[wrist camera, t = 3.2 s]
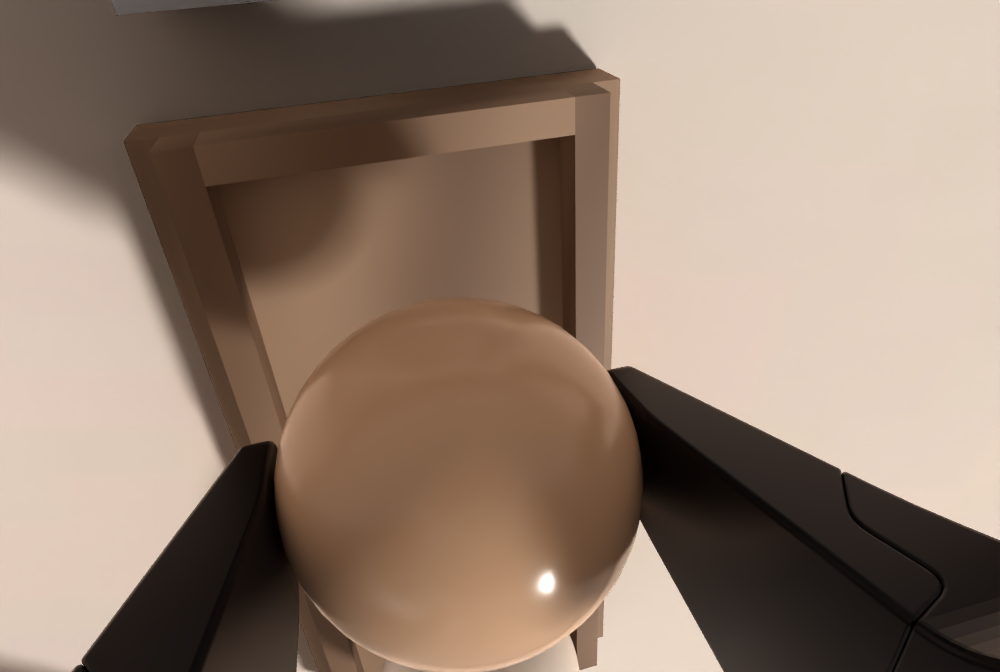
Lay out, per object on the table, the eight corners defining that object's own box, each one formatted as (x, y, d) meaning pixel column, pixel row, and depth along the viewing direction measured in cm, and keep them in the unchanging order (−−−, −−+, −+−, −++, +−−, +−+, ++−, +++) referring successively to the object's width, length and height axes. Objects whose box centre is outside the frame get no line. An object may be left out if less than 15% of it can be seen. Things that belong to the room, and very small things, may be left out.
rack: (598, 68, 12) (639, 88, 11) (590, 608, 21) (612, 660, 19) (137, 125, 11) (111, 157, 9) (332, 678, 20) (335, 740, 18)
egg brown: (569, 216, 10) (743, 404, 6) (571, 452, 12) (694, 692, 8) (241, 269, 9) (198, 528, 5) (315, 511, 11) (322, 805, 8)
